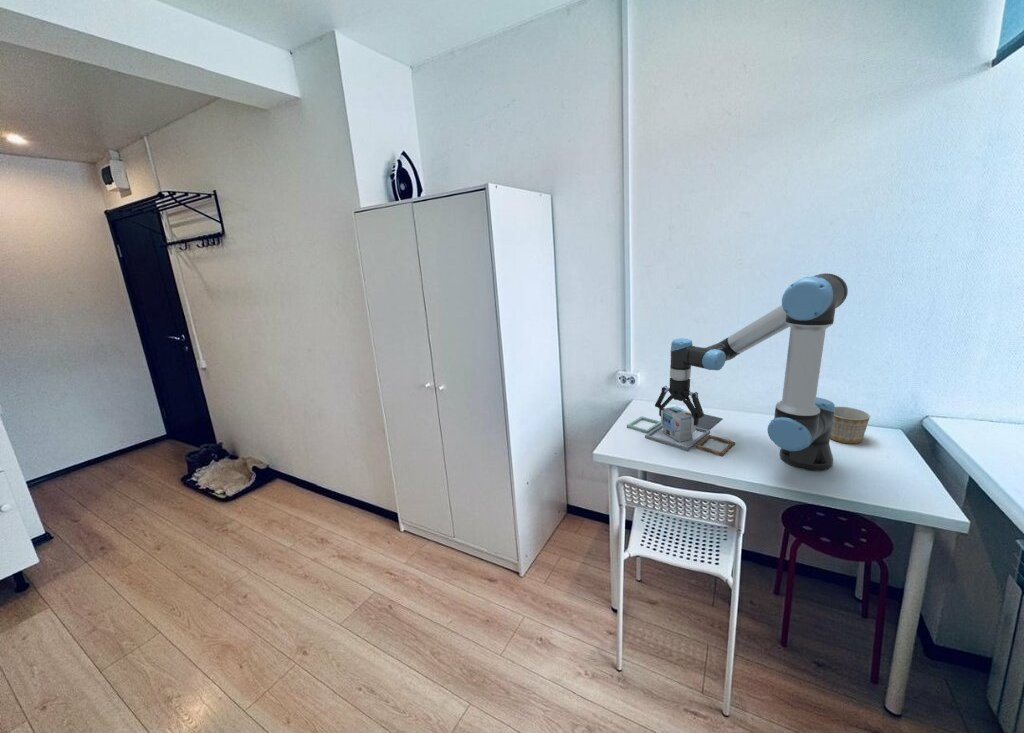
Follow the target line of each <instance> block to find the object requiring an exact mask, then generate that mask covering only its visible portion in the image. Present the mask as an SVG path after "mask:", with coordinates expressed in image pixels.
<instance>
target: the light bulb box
mask: <svg viewBox="0 0 1024 733" xmlns="http://www.w3.org/2000/svg"><path fill="white" fill-rule="evenodd" d="M664 408H665V409H664V415H663V428H662V433H664V434H666V435H667V436H668V437H670V438H672V439H674V441H676V442H678V443H681V442H685V441H689V440H693V434H694V433H691V420H692V417H693V415H692V414H691V412H690V411H687V410H685V409H684V408H681V407H679V406H678V405H675V406H670V407H664Z"/></svg>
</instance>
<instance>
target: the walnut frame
mask: <svg viewBox="0 0 1024 733" xmlns="http://www.w3.org/2000/svg"><path fill="white" fill-rule="evenodd" d="M709 440H711V441H712V440H713V441H717V442H720V443H723V444H727V446H725V448H723V449H722V450H721V451H720V450H717V449H713V448H710V447H706V446H703V445H704V444H706V443H707V442H708V441H709ZM735 446H736V441H733V440H731V439H726V438H722V437H719V436H715V435H712V434H709V435H707V436H706V437H705V438H704V439H702V440H701V441H700V442H699V443H698V444H696V445H695V446H694V448H695V450H696V449H697V450H699V451H703V452H707V453H709V454H714V455H716V456H720V457H724V455H726V454H727V453H728V452H729V451H730V450H732V448H733V447H735Z"/></svg>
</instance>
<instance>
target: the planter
mask: <svg viewBox="0 0 1024 733" xmlns="http://www.w3.org/2000/svg"><path fill="white" fill-rule="evenodd" d="M870 418H871V415H870V414H869V413H868V412H866V411H864V410H861V409H858V408H853V407H847V406H835V413H834V417H833V423H832V430H831V436H830V440H832V441H835V442H838V443H843V444H852V445H854V444H855V445H856V444H858V443H862V441H863V440H864V436H865V433H866V431H867V427H868V423H869V421H870Z"/></svg>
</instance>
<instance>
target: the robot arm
mask: <svg viewBox="0 0 1024 733" xmlns="http://www.w3.org/2000/svg"><path fill="white" fill-rule="evenodd" d="M848 292H849V290H848V284H847V282H845V280H844V279H843V278H842V277H840V276H839V275H836V274H833V273H826V272H825V273H819V274H816V275H812V276H805V277H802V278H800V279H797V280H796V281H794V282H793V283H792V284H790V285H789V286H788V287H787V288H786V289H785V291H784V293H783V294H782V297H781V305H779V306H778V307H776V308H774V309H773V310H771V311H769V312H768V313H766V314H764V315H763V316H761V317H759V318H758V319H756V320H754V321H752V322H751V323H749V324H748V325H746V326H744V327H742V328H741V329H740V330H738V331H736V332H734V333H733V334H731V335H730V336H728V337H726V338H724V339H723V340H721V341H719V342H717V343H714V344H712V345H709V346H707V347H701V346H695V345H693V341H692V339H689V338H684V337H683V338H675V339H673V340H672V341H671V344H670V364H669V366H670V367H669V368H670V370H669V377H670V378H669V387H668V386H667V385H665V386H662V387H661V392H660V394H659V396H658V398H657V399H656V401H655V404H654V407H655V408H657V409H658V412H659V413H658V415H659V416H658V417H660V421H661V425H663V415H664V409H665V408H666V406H667V405H668V404H669V403H670V402H671V401H672V400H674V401H679V402H683V404H684V405H685V406H686V408H687V409H688V410H689V411H688V412H690V413H691V414H692V415H693V417H692V420H691V433H693V434H694V433H695V432H697V431H696V426H697V425H698V423H699V418H701V417H703V416H704V414H705V413H704V410H703V408H702V405H701V402H700V399H699V393H698V391H695V392H691V390H690V388H691V375H692V374H691V370H692V367H695V368H700V369H705V370H707V371H721V369H723V367H724V366H725V363H726V362H728V361H731V360H732V359H735V358H736V357H737V356H739V355H740V354H742V353H744V352H745V351H747V350H749V349H752V348H754V347H755V346H756V345H759V344H760V343H762V342H763V341H766V340H767V339H770V338H771V337H773V336H775V335H777V334H779V333H780V332H783V331H784V330H786V329H788V328H789V330H790V331H789V337H788V338H789V339H788V348H787V353H786V354H787V355H786V363H785V364H786V365H785V370H784V371H785V372H784V381H783V388H782V396H781V397H782V398H781V400H780V401H777V403H776V404H775V407H774V408H775V409H774V417H773V418H772V419H771V420H770V422H769V424H768V425H767V435H768V437H769V439H770V440H771V441H772V442H773V443H774V444H775V445H776V446H777V447H778V448H780V449H779V450H780V451H779V457H780V459H781V460H782V461H783V462H784V463H785V464H787V465H790V466H792V467H794V468H797V469H801V470H805V471H812V472H823V471H827V470H830V469H832V468H833V464H834V456H833V454H832V450H831V449H832V448H831V446H830V442H831V441H830V440H831V439H830V436H831V430H832V423H833V417H834V413H835V407H836V405H835V403H834V402H833V401H831V400H829V399H826V398H823V397H818V396H817V394H818V393H817V392H818V388H819V387H818V386H819V379H820V373H821V372H820V371H821V364H822V360H823V358H822V357H823V351H824V343H825V337H826V331H827V329H828V328H830V327H831V326H833V324H834V322H835V313H836V309H837V308H838V307H840V306H841V305H843V303H844V302H845V300H846V299H847V296H848ZM668 393H669V396H668V397H667V398H666V400H664V398H665V397H666V394H668ZM691 399H692V400H691Z"/></svg>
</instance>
